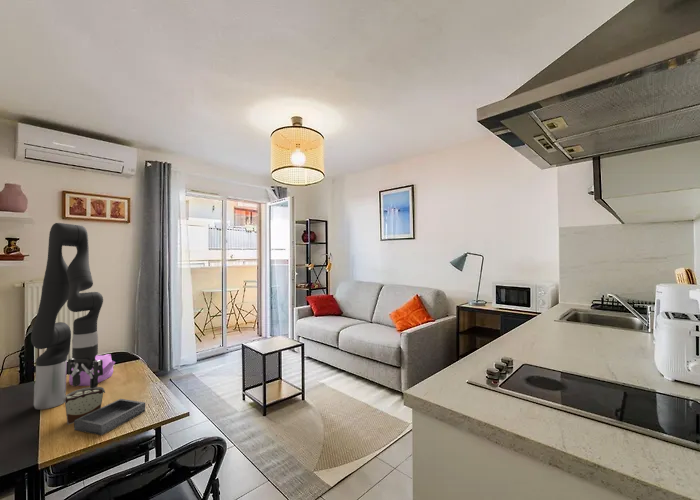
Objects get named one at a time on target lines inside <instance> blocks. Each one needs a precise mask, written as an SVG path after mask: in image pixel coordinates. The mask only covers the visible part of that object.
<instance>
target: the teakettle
mask: <svg viewBox="0 0 700 500" xmlns="http://www.w3.org/2000/svg"><path fill="white" fill-rule="evenodd" d="M95 359H96V360H102V361H103V375H101V376H98V384H99V383H101V382H103V381H106V380H107V379H109V378H111V377H112V376H113V373H114V366H115V364H116V361H114V360H112V354H111V353H110V354H109V353H107V354H104V355H101V354H100V355H99V354H97V355H96V356H95ZM72 370H73V368H72V369H71V371H72ZM91 370H93V368H92V369H91ZM98 373H99V370H98ZM79 375H80V385H78V386H79V387H81V386H82V387H84V386H85V387H90V379H91V378H90V376H89V374H86V372H84V371H82V372H81V373H80V374H79ZM93 375H94V372H93ZM68 376H69V377H68V383H69V385H70V386H73V377H72V376H71V375H68Z"/></svg>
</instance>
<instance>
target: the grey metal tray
mask: <svg viewBox="0 0 700 500" xmlns="http://www.w3.org/2000/svg"><path fill="white" fill-rule="evenodd" d="M144 412H146V402H144V401H138V400H131V399H124V398H119V399H116V400H115V401H112V402H110V403H108V404H106V405H104V406H101V408H99V409H97V410H95V411H93V412H91V413H89V414H87V415H84V416H82V417H80V418H78V419H76V420H74V423H73V425H74V427H73V428H74V429H73V430H74V431H78V432H82V433H89V434H93V435H96V436H97V435H98V436H103V435H105V434H107V433H108V432H111V431H112V430H114V429H116V428H118V427H119V426H122V425H123V424H125V423H127V422H128V421H130V420H132V419H134V418H135V417H136V418H137V416H139V415H142V414H143V413H144Z"/></svg>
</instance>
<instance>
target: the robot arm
mask: <svg viewBox="0 0 700 500" xmlns="http://www.w3.org/2000/svg"><path fill="white" fill-rule="evenodd" d="M49 230H50V231H49V234H48V235H49V236H48V247H47V259H46V266H45V272H44V276H43V279H42V280H43V281H42V287H41V295H40V300H39V305H38V311H37V315H36V317H35V321H34V323H33V324H34V325H33V327H32V331H31V334H30V341H31V345H32V346H33V348H35V349H37V350H43V349H44V350H45V349H46V350H45V351H44V352H43V353H42V354H40V355H39V356H37V358H36V361H35V382H34V385H33V407H34V409H35V410H47V409H51V408H56V407H58V406H60V405H64V404H63V400H64V398H65V396H66V395H67V393H66V392H67V375H68V376H69V375H71V376H72V377H73V385H72V387H77V386H78V385H80V375H79V374H80V373H81V372H82V371H84V372H86V374H89V376H90V378H91V379H90V386H89V387H90V388H95V387H98V384H99V383H98V376H101V375H103V361H102V360H96V359H95V356H96V355H99V336H98V319H99V315H100V311H101V309H102V307H103V304H104V297H103V294H101V293H100V292H99V291H91V292H89V291H88V292H83V291H87V290H89V289H91V288H92V287H93V286H94V280H93V275H92V273H91V267H90V261H89V260H90V259H89V257H90V256H89V255H90V254H89V251H90V250H89V235H88V231H87V228H86V227H84V226H83V225H79V224H78V225H77V224H73V223H72V224H71V223H64V222H63V223H62V222H55V223H53V224H52V226H51V227H50V229H49ZM63 247H75V248H76V254H75V256H74V258H73V259H72V260H71V262H70V263H69V264H67V262H66V261H65V259H64V256H63ZM66 303H67V304H66ZM65 304H66V306H67V308H68V310H69V311H71V312H72V313H80V312H87V311H88V313H87V314H85V315H83V316H80V317H78V318H75V319H74V320H73V323H72V325H73V327H72V329H73V331H71V327H70V326H69V324H67V323H66V322H62V321H58V322H57V318H58V315H59V313H60V311H61V310H62V308H63V307H64V306H65ZM72 332H73V334H72ZM71 342H72V348H71ZM71 350H72V351H71ZM70 351H71V354H72V355H71V357H72V358H70V359H68V356H69V354H70ZM72 368H73V370H72V371H71V369H72ZM92 368H93V370H91V369H92ZM98 370H99V373H98ZM93 372H94V375H93ZM64 403H65V401H64Z"/></svg>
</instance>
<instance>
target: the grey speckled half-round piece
mask: <svg viewBox="0 0 700 500" xmlns="http://www.w3.org/2000/svg"><path fill="white" fill-rule="evenodd" d="M104 394H106V390H105V388H104V387H103V386H97V387H95V388H90V386H87V387H84V388H80V389H76V390H73V391H71V392H69V393H66V396H65V398H64V400H63V404H62V405H64V404H65V406H64V407H65V415H66V424H67V425H68V426H69V425H71V424H74V420H76V419H78V418H80V417H82V416H84V415H87V414H89V413H91V412H93V411H95V410H97V409H99V408H102V403H103V397H104V396H103V395H104ZM64 401H65V402H64Z"/></svg>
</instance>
